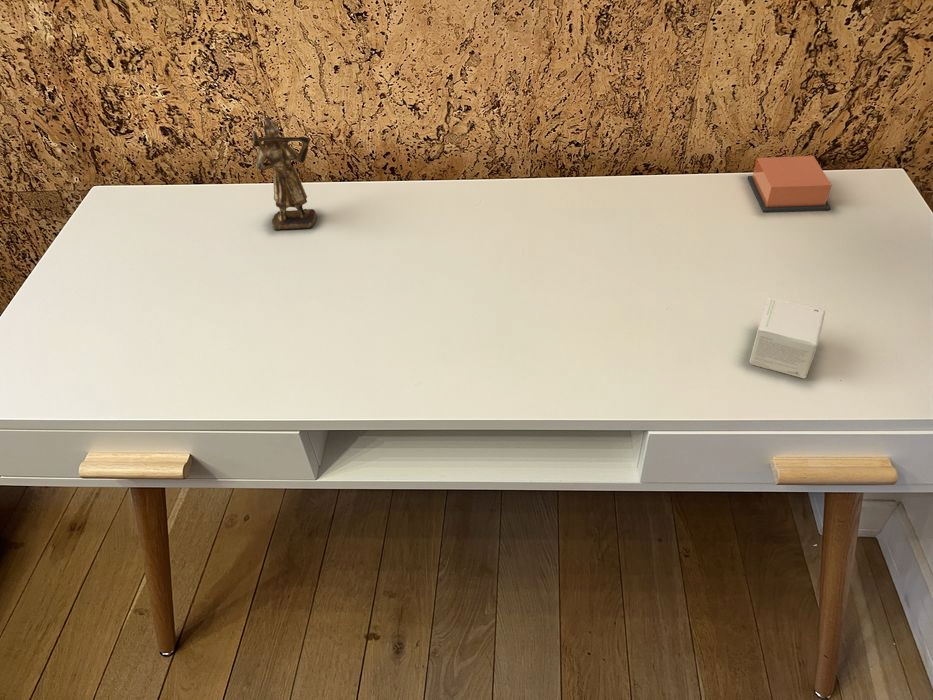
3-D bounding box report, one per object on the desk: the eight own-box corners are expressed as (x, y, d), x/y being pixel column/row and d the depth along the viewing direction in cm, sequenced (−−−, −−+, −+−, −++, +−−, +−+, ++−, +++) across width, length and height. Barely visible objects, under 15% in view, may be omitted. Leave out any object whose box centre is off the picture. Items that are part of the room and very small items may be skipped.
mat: (830, 210, 94) (831, 207, 94) (762, 212, 94) (763, 209, 94) (810, 176, 100) (811, 173, 100) (747, 178, 101) (747, 175, 100)
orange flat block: (825, 205, 94) (831, 185, 92) (766, 207, 95) (771, 187, 92) (807, 175, 99) (813, 155, 97) (752, 177, 100) (756, 157, 98)
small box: (758, 330, 79) (768, 295, 75) (814, 345, 77) (828, 309, 73) (746, 364, 75) (757, 329, 72) (805, 381, 73) (819, 345, 70)
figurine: (329, 212, 101) (306, 109, 90) (325, 228, 98) (300, 123, 87) (276, 215, 101) (247, 112, 91) (270, 231, 98) (240, 126, 88)
